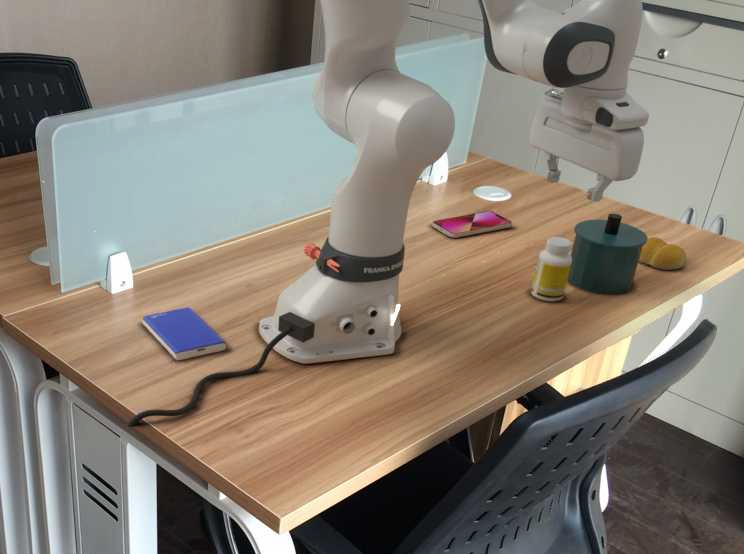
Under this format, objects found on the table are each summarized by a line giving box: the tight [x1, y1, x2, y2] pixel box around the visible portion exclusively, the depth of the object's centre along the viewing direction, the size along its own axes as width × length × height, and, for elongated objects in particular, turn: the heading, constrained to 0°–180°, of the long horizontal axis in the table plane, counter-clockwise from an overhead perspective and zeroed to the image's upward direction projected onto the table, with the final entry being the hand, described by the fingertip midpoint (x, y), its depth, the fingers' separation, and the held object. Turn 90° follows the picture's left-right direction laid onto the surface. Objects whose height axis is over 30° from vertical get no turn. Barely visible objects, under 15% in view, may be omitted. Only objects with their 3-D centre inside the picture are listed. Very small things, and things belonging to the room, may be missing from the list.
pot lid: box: [573, 213, 648, 249], centre depth 162 cm, size 12×12×4 cm
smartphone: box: [431, 210, 513, 238], centre depth 187 cm, size 7×1×15 cm
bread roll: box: [638, 236, 687, 271], centre depth 175 cm, size 8×9×4 cm
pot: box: [567, 234, 643, 295], centre depth 165 cm, size 11×11×8 cm
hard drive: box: [142, 307, 227, 361], centre depth 144 cm, size 2×8×12 cm
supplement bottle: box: [530, 236, 573, 302], centre depth 159 cm, size 5×5×10 cm
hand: (572, 190), depth 152 cm, fingers open, 8 cm apart
